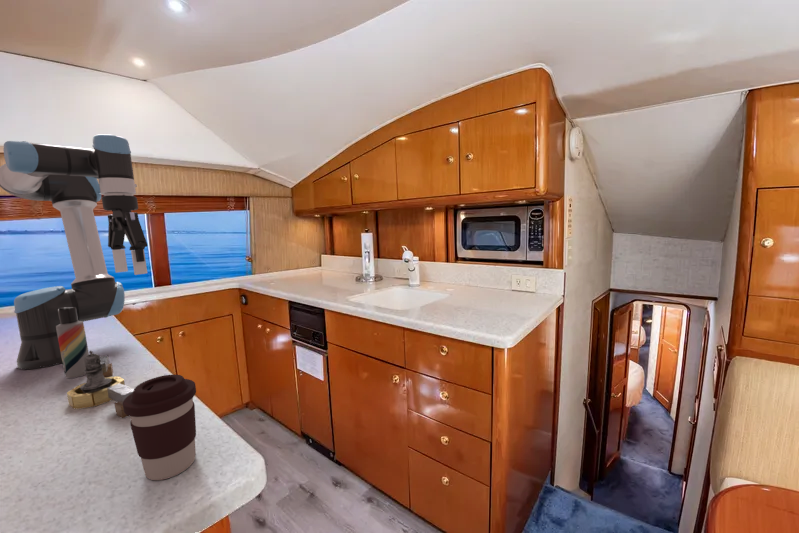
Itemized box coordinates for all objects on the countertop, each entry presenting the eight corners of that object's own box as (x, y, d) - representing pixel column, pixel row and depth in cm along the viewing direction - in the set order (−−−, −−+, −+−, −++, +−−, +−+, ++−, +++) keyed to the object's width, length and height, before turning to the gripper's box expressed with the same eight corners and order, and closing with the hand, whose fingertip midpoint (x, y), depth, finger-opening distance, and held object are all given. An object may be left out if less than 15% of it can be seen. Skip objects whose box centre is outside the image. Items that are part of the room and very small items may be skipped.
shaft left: (111, 381, 94) (108, 363, 93) (93, 385, 92) (90, 366, 91) (113, 371, 101) (110, 354, 100) (97, 375, 99) (94, 358, 98)
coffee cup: (217, 452, 62) (207, 373, 60) (164, 494, 53) (150, 401, 51) (177, 443, 65) (166, 367, 63) (120, 481, 56) (105, 393, 54)
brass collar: (65, 401, 84) (62, 389, 83) (115, 384, 92) (114, 373, 92) (77, 412, 78) (75, 400, 78) (130, 393, 86) (128, 382, 86)
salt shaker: (95, 404, 82) (87, 355, 80) (75, 402, 83) (67, 355, 81) (120, 392, 87) (112, 346, 86) (101, 390, 89) (93, 346, 87)
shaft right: (107, 410, 79) (103, 388, 78) (126, 402, 82) (122, 382, 81) (123, 419, 75) (120, 396, 74) (142, 410, 78) (139, 389, 77)
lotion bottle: (60, 377, 99) (48, 308, 96) (85, 368, 104) (73, 304, 101) (72, 379, 96) (59, 310, 94) (96, 371, 102) (84, 304, 99)
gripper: (154, 192, 90) (166, 272, 93) (119, 199, 104) (129, 269, 106) (119, 190, 84) (132, 277, 86) (86, 198, 98) (98, 272, 100)
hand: (131, 273), depth 96 cm, fingers open, 13 cm apart
